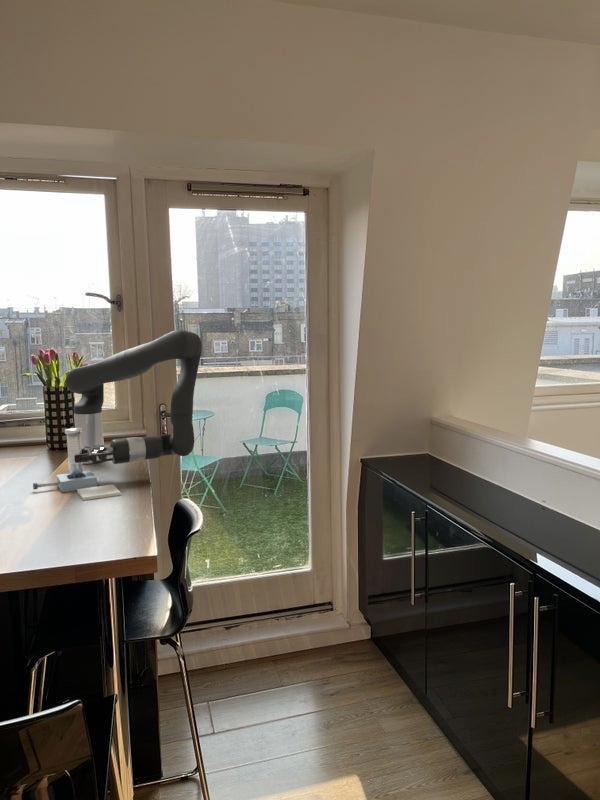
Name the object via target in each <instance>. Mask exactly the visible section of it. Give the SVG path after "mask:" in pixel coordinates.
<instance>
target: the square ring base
mask: <svg viewBox="0 0 600 800" xmlns="http://www.w3.org/2000/svg"><path fill="white" fill-rule="evenodd" d="M55 477H56V481H51V482H45V483H43V482H42V483H37V482H33V483H32V489H33V490H38V488H43V487H51V486H57V487H58V489H59V490H60V492H61V493H64V492H65V493H67V492H73V491H77V489H82V488H90V487H97V486H98V480H97V479H98V478H97V476H96V474H94V473H93V472H92V471H91V470H87V471H86V470H85V471H83V477H81V478H73V479H70V478H69V472H68V473H61V474H60V473H59V474H56V476H55Z"/></svg>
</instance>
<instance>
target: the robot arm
mask: <svg viewBox="0 0 600 800" xmlns="http://www.w3.org/2000/svg"><path fill="white" fill-rule="evenodd" d="M202 348H203V344H202V339H201V337H200V336H199V335H198V334H196V333H195V332H192V331H187V330H183V329H176V330H172V331H170V332H168V333H165V334H164V335H162V336H160V337H158V338H156V339H154V340H152V341H149V342H146V343H142V344H140V345H137V346H135V347H131V348H128V349H126V350H122V351H120V352H117V353H115V354H112V355H110V356H108V357H106V358H104V359H101V360H100V361H97V362H95V363H92V364H88V365H84V366H78V367H74V368H73V369H70V371H68V373H67V375H66V378H65V385H66V386H65V387H66V388H67V390H69V391H70V392H72V393H74V394H77V395H81V398H80V399H79V401H78V402H76V403H75V404H74V405H73V418H74V428H81V429H82V432H81V433H80V435H81V451H82V454H79V455H75V456H74V460H75V462H76V463H79V462H82V465H83V464H84V465H87V464H96V463H102V462H103V463H104V462H112V464H114V465H119V464H126V463H128V464H129V463H136V462H140V461H144V460H146V461H147V460H153V459H159V458H160V457H162V456H163V457H164V456H172V455H173V456H175V455H176V456H178V457H179V456H180V457H186V456H188V455H190V454H191V453H192V452H193V450H194V447H195V431H194V424H193V414H194V412H193V411H194V397H195V396H194V395H195V387H196V381H197V376H198V370H199V365H200V361H201V355H202ZM169 360H170V361H172V360H180V372H179V375H178V376H179V377H178V380H177V382H176V385H175V386H174V389H173V392H172V394H171V400H170V415H169V419H170V424H171V425H172V432H173V433H166V434H160V435H151V436H139V437H137V436H133V437H123V438H115V439H111V440H110V442H109V446H105V442H104V424H103V422H104V421H103V413H102V412H103V405H104V399H105V398H104V397H105V396H104V393H105V392H104V390H105V387H104V385H105V384H109V383H115V382H120V381H125V380H129V379H132V378H135V377H138V376H141V375H143V374H145V373H147V372H148V371H149V370H151V369H152V368H153V366H155V365H157V364H159V363H163V362H165V361H166V362H167V361H169Z"/></svg>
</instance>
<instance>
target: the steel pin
mask: <svg viewBox="0 0 600 800" xmlns="http://www.w3.org/2000/svg"><path fill="white" fill-rule="evenodd" d="M81 432H82V429H81V428H75V427H72V428H71V427H70V428H66V429H64V434H65V435H66V445H67V459H68V463H67V464H68V473H69V478H70V479H73V478H81V477H83V472H84V471H83V470H84V469H83V464H82V462H79V463H76V462H75V460H74V456H75V455H79V454H82V451H81V435H80V433H81Z"/></svg>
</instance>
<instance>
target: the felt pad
mask: <svg viewBox="0 0 600 800" xmlns="http://www.w3.org/2000/svg"><path fill="white" fill-rule="evenodd" d="M76 492H77V494H78V495H79V497H80V498H81V499H82V501H88V500H89V501H90V500H95V499H101V498H102V499H104V498H108V497H116V496H121V495H122V493H121V491H120V490H119V489H118V488H117V487H116V486H115V484H106V485H97V487H90V488H82V489H77V490H76Z"/></svg>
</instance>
